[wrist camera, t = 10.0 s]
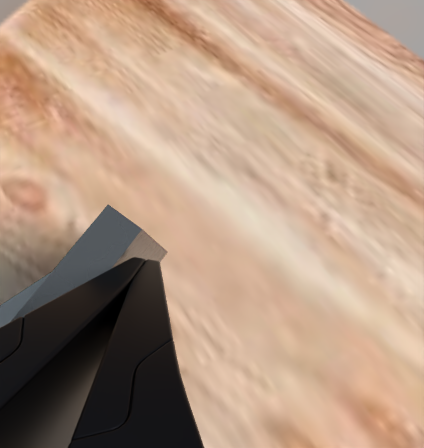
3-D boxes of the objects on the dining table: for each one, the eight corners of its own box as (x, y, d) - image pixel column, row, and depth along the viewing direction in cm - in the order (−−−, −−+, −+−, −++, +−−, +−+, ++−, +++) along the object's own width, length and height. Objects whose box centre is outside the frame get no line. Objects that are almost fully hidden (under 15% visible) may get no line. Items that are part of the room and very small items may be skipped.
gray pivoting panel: (-4, 507, 12) (-281, 827, 5) (-49, 470, 12) (-377, 730, 5) (178, 259, 14) (162, 243, 8) (139, 231, 15) (88, 190, 8)
